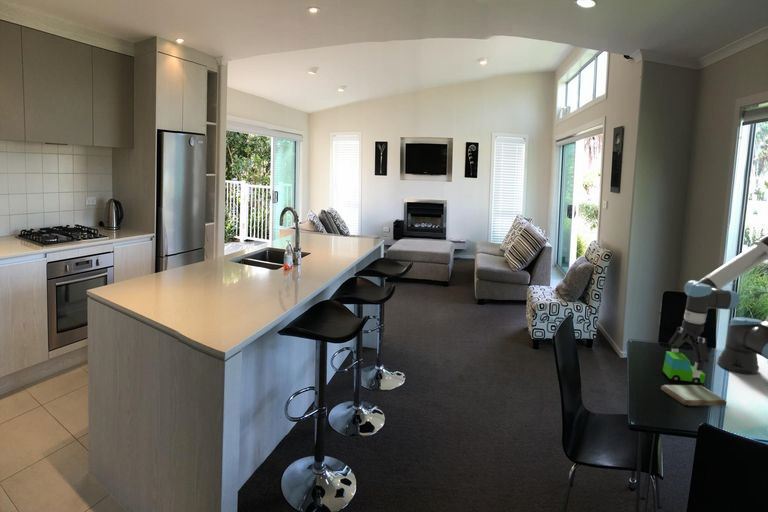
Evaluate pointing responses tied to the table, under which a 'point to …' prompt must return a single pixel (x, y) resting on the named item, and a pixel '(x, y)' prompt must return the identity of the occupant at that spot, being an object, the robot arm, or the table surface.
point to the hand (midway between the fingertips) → (683, 369)
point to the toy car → (680, 368)
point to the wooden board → (693, 395)
